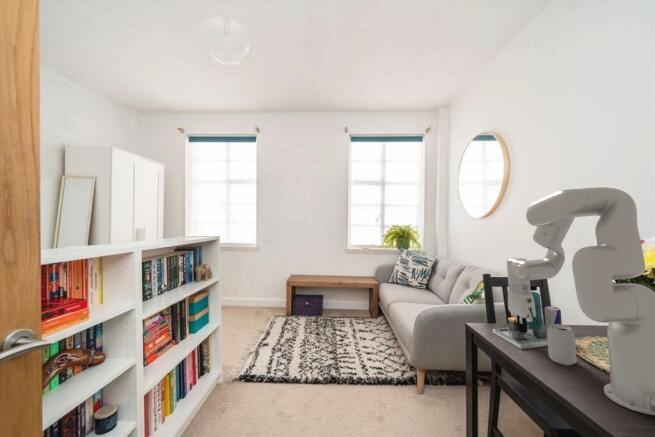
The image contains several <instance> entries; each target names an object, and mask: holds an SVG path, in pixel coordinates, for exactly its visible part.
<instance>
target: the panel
mask: <svg viewBox="0 0 655 437" xmlns="http://www.w3.org/2000/svg"><path fill="white" fill-rule="evenodd" d="M492 334H495V335H496V336H498V337H500V338H501V339H502V340H504V341H506V342H508V343H509V344H511V345H513V346H515V347H516V348H519V349H520V350H522V349H523V350H524V349H532V348H543V347H548V338H547V335H546V330H544V329H542V328H541V329H533V328H529V327H527V333H523V332H521V331H511V330H509V327H503V328H502V327H501V328H494V329H492Z"/></svg>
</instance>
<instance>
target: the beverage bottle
mask: <svg viewBox="0 0 655 437" xmlns="http://www.w3.org/2000/svg"><path fill="white" fill-rule="evenodd" d="M537 291H538V286H537V285H536V284H532V283H530V293H532V295H533V299H534V304H535V310H536V317H532V319H533V322H528V323H527V327H528V328H530V329H541V330H542V329H543V325H544V324H543V316H542V314H543V313H542V302H541V297H542V296H541V294H539V293H538V292H537Z"/></svg>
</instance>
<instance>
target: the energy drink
mask: <svg viewBox="0 0 655 437" xmlns="http://www.w3.org/2000/svg"><path fill="white" fill-rule="evenodd" d="M544 320H545V331H546V336H547V329H548V328H549V325H551V324H560V325H563V322H562V310H561V308H559V307H558V306H553V305H552V306H551V305H548V306H544Z"/></svg>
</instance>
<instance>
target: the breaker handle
mask: <svg viewBox="0 0 655 437" xmlns="http://www.w3.org/2000/svg"><path fill="white" fill-rule="evenodd" d="M507 321H508V328H509V330H511V331H517V322H516V321H515V317H514V316H513V317H507Z"/></svg>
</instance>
